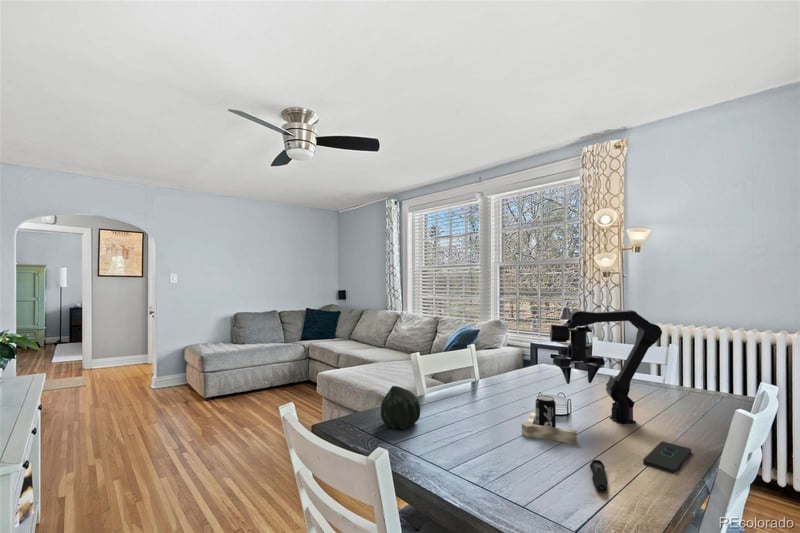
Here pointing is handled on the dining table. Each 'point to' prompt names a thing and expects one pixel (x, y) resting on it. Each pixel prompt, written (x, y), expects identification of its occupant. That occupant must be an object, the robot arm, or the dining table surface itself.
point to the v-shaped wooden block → (547, 431)
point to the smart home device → (667, 457)
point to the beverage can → (545, 411)
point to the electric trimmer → (599, 475)
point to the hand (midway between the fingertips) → (578, 383)
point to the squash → (400, 408)
